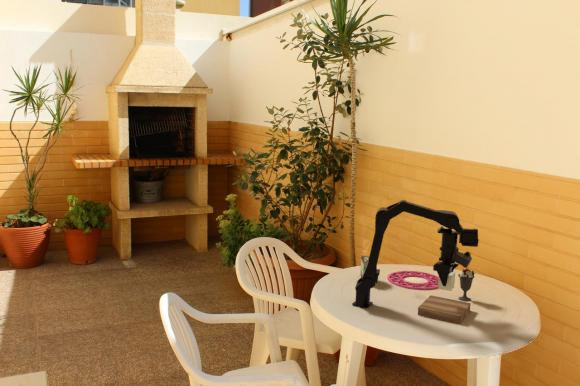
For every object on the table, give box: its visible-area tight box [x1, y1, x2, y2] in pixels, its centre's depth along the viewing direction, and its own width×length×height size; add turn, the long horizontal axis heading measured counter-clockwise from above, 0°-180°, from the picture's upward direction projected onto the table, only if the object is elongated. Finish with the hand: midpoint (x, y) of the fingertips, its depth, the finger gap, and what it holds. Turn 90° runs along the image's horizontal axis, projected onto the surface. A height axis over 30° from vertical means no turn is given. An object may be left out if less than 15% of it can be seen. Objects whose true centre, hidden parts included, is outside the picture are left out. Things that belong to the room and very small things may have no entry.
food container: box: [359, 254, 370, 278], centre depth 256 cm, size 12×6×10 cm, turn 179°
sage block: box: [437, 271, 456, 292], centre depth 218 cm, size 5×5×6 cm
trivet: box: [386, 270, 439, 291], centre depth 258 cm, size 25×25×1 cm
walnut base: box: [417, 294, 472, 325], centre depth 220 cm, size 16×16×3 cm
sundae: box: [457, 267, 476, 302], centre depth 234 cm, size 7×7×15 cm
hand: (446, 284), depth 218 cm, fingers closed on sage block, 5 cm apart
